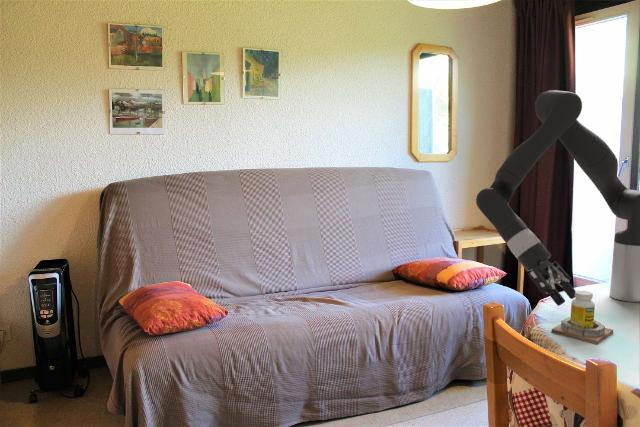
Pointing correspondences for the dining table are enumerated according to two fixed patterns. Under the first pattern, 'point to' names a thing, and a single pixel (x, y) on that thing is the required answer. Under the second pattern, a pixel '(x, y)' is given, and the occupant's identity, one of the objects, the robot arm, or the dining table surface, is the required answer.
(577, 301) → the supplement bottle
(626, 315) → the dining table surface
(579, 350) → the dining table surface
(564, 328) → the collar
